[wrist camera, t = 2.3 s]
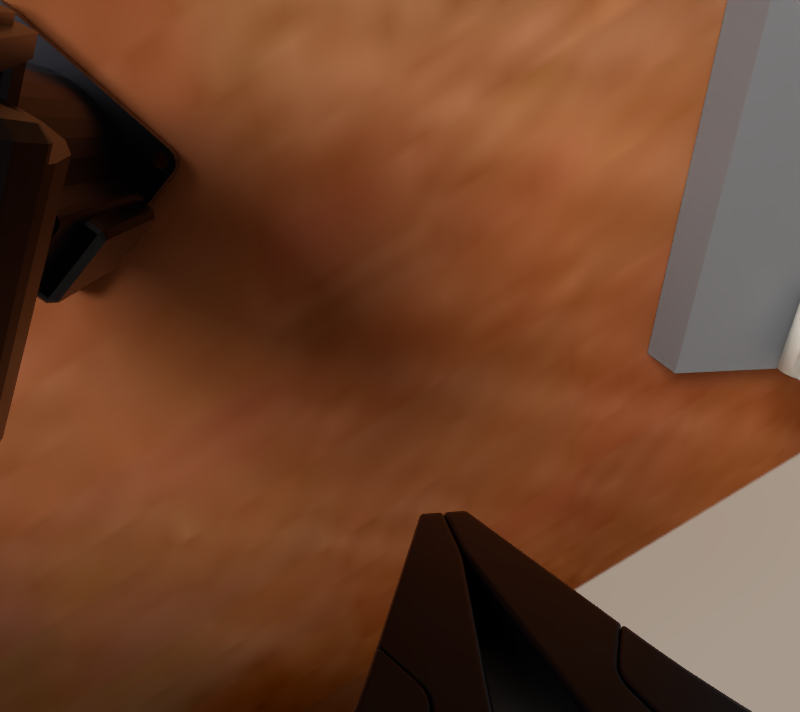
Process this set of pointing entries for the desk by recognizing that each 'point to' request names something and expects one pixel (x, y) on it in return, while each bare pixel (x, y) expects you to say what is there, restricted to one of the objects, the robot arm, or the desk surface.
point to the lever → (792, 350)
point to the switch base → (739, 204)
